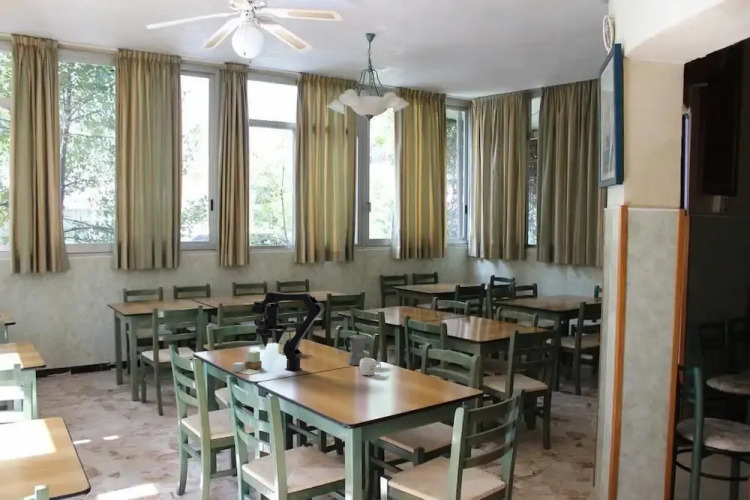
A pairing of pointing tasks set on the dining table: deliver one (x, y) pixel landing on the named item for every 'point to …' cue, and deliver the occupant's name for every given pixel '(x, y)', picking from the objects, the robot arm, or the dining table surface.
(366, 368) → the mug
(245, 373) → the swatch tile
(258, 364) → the walnut block
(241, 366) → the grey block
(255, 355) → the sage block
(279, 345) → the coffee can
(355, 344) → the coffeepot
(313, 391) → the dining table surface
